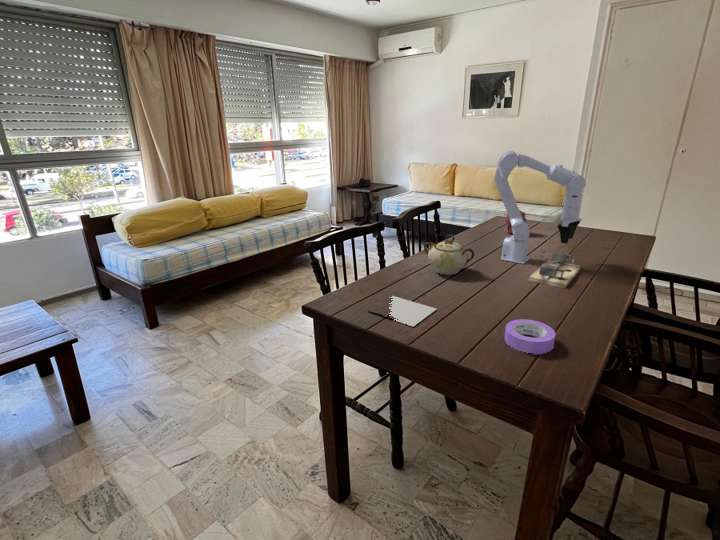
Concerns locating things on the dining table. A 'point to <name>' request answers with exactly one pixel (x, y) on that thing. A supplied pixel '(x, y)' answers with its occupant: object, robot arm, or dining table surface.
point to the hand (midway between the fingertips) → (566, 240)
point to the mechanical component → (509, 226)
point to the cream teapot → (448, 256)
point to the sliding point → (562, 257)
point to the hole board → (554, 279)
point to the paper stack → (409, 311)
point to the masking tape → (528, 343)
